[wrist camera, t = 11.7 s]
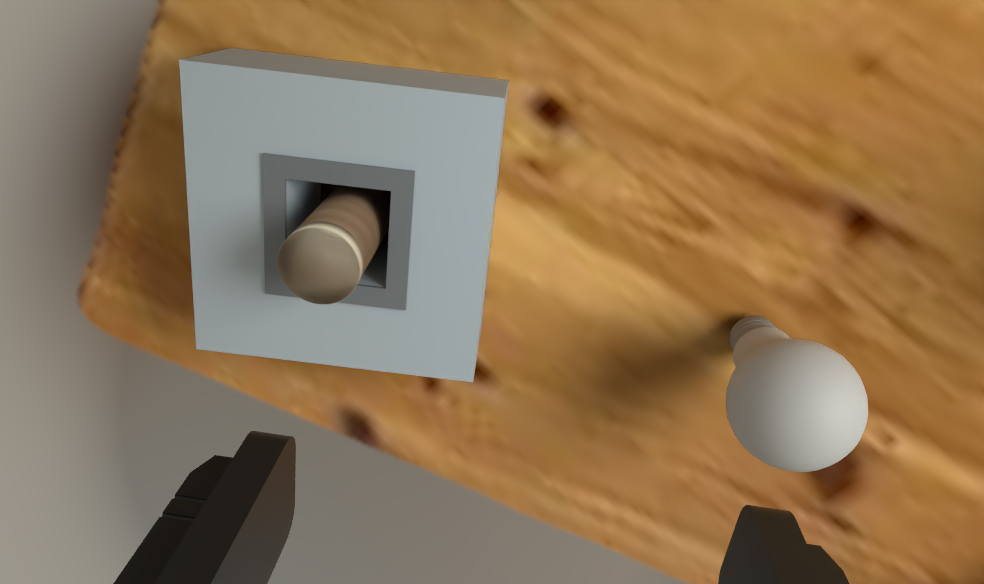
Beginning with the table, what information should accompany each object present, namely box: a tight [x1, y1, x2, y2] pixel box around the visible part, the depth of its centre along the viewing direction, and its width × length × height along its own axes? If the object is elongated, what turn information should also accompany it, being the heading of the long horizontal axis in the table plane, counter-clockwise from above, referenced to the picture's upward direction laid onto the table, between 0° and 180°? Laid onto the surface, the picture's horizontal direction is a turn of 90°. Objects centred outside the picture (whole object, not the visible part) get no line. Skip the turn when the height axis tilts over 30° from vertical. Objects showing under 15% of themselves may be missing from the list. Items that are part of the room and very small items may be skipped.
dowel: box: [278, 185, 391, 305], centre depth 35 cm, size 3×3×10 cm
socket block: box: [179, 48, 509, 382], centre depth 37 cm, size 14×14×6 cm
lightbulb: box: [726, 316, 868, 472], centre depth 36 cm, size 6×6×11 cm
